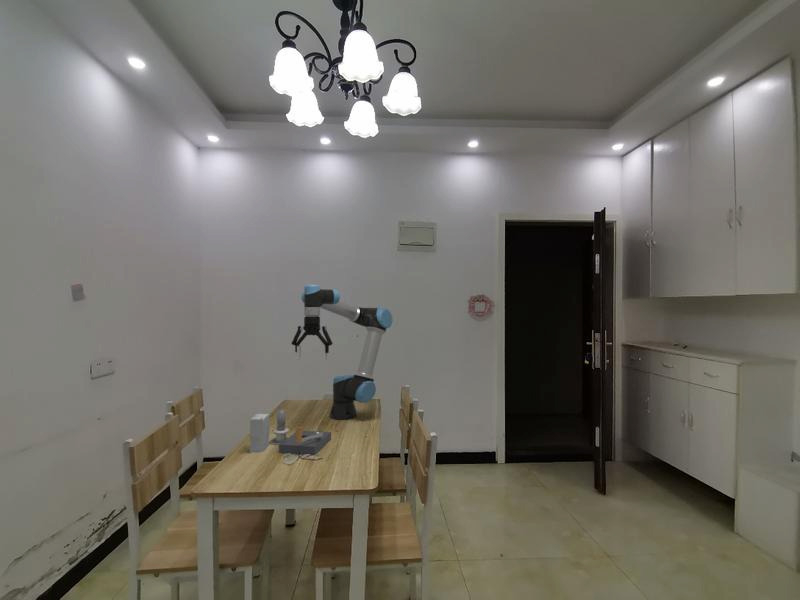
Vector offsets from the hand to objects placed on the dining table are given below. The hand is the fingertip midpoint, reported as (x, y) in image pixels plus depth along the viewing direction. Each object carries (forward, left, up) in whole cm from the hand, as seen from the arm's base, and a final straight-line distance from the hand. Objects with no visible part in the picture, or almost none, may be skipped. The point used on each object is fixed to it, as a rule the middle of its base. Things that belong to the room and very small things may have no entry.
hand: (311, 359), depth 194 cm
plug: (+12, -10, -36) cm, 39 cm away
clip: (+21, +7, -31) cm, 38 cm away
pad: (+12, -10, -37) cm, 40 cm away
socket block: (+16, +4, -37) cm, 40 cm away
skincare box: (+23, -15, -37) cm, 46 cm away
